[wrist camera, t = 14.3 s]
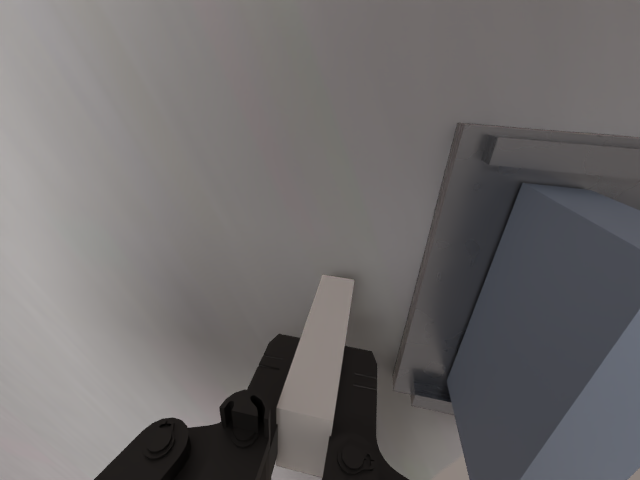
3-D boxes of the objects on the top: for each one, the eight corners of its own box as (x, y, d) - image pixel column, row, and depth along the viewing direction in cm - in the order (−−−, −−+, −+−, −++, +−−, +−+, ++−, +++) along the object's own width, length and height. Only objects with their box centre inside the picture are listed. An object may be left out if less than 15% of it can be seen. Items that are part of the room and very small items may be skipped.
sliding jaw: (522, 182, 12) (669, 265, 6) (590, 189, 11) (823, 286, 5) (446, 381, 17) (482, 533, 11) (491, 390, 17) (553, 552, 11)
